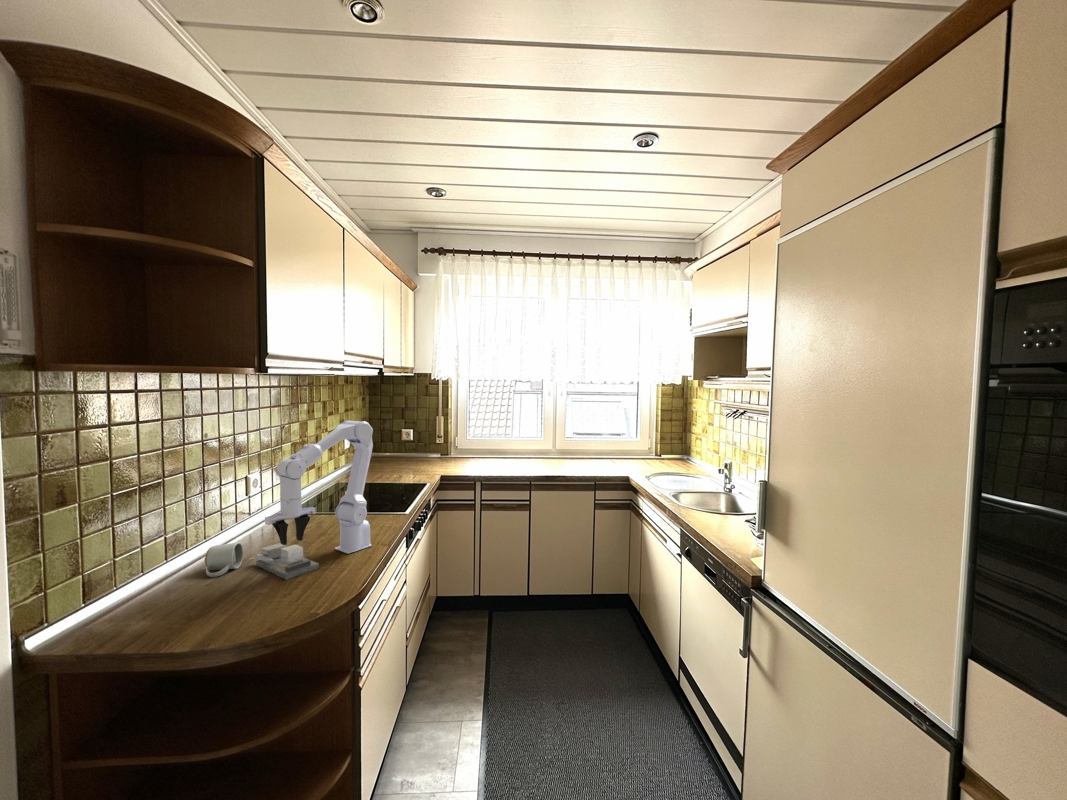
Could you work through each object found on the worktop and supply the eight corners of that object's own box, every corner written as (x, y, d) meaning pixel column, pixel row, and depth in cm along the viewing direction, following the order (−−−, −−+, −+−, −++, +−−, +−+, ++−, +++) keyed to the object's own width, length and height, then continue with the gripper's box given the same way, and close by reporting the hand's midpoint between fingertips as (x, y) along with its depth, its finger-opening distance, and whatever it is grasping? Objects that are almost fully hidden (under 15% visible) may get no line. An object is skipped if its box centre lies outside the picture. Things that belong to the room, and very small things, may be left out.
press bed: (286, 554, 154) (286, 546, 154) (318, 568, 143) (318, 558, 143) (254, 564, 146) (253, 555, 146) (286, 579, 135) (286, 569, 135)
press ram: (280, 551, 152) (280, 542, 152) (287, 554, 150) (286, 545, 150) (261, 557, 147) (261, 548, 147) (267, 560, 145) (267, 550, 145)
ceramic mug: (215, 564, 146) (214, 540, 145) (244, 562, 147) (243, 539, 147) (198, 579, 135) (197, 553, 135) (229, 577, 137) (228, 551, 136)
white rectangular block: (303, 563, 143) (303, 547, 143) (288, 568, 139) (288, 551, 139) (295, 560, 145) (295, 544, 145) (281, 564, 142) (280, 548, 141)
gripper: (306, 491, 150) (307, 533, 150) (259, 501, 138) (260, 546, 138) (319, 494, 146) (319, 537, 146) (271, 504, 134) (272, 551, 134)
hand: (291, 542), depth 142 cm, fingers open, 4 cm apart
